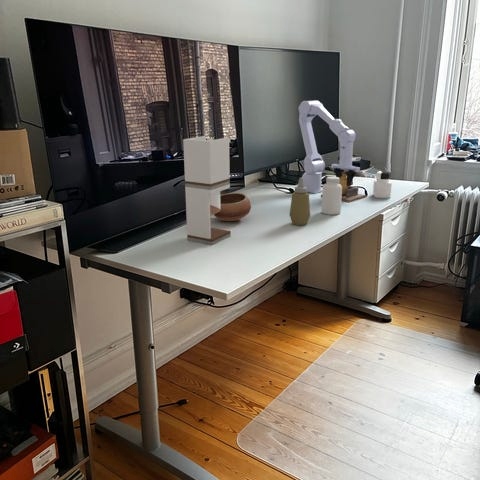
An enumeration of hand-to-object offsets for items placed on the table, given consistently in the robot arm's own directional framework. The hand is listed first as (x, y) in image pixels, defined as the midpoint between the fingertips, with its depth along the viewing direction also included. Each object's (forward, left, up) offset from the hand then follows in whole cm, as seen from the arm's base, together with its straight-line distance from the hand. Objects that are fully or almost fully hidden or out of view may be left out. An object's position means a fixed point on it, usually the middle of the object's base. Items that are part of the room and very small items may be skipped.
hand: (344, 185), depth 231 cm
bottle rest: (0, 0, -6) cm, 6 cm away
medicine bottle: (+12, +14, -6) cm, 19 cm away
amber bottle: (0, 0, -3) cm, 4 cm away
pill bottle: (+13, -28, -6) cm, 31 cm away
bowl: (-9, -65, -6) cm, 66 cm away
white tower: (+3, -87, -6) cm, 87 cm away
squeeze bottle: (+14, -50, -6) cm, 52 cm away
